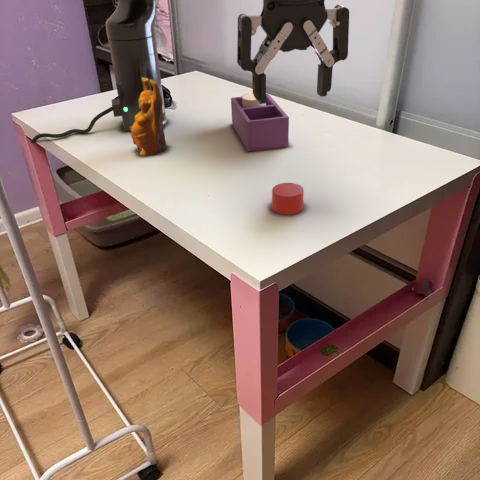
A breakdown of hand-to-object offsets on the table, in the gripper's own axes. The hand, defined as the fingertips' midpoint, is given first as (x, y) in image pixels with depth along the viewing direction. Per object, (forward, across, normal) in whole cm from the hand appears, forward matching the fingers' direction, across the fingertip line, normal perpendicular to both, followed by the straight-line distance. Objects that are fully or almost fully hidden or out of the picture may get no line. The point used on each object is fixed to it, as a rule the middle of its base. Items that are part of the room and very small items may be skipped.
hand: (291, 98), depth 69 cm
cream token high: (+12, -3, -34) cm, 37 cm away
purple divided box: (+16, -3, -31) cm, 35 cm away
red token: (+16, 0, 0) cm, 16 cm away
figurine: (+16, +19, -30) cm, 39 cm away
